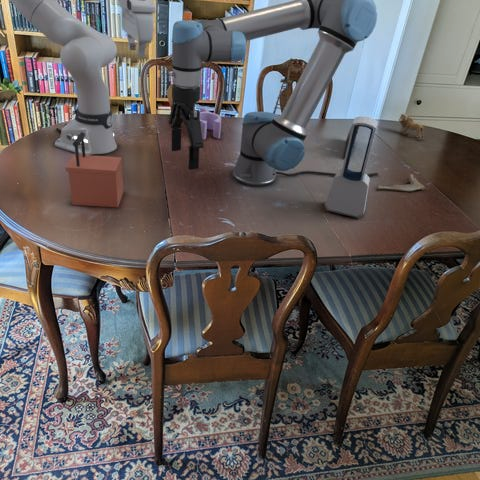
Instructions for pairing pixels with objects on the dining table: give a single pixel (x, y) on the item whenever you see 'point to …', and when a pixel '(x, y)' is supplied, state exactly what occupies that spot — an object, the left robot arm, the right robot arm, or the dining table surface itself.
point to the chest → (96, 188)
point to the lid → (91, 161)
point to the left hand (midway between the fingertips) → (136, 53)
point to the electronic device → (352, 178)
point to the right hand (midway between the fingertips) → (184, 159)
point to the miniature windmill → (285, 81)
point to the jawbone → (405, 186)
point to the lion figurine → (410, 125)
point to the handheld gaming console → (348, 141)
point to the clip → (210, 123)
